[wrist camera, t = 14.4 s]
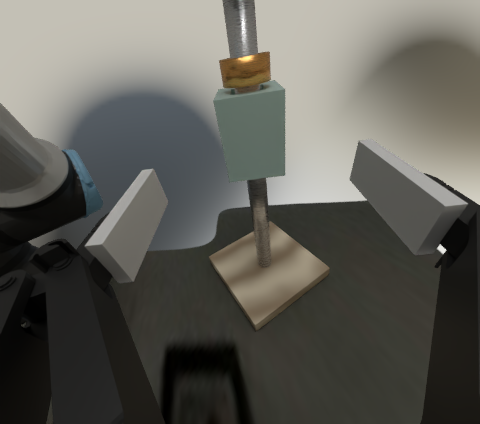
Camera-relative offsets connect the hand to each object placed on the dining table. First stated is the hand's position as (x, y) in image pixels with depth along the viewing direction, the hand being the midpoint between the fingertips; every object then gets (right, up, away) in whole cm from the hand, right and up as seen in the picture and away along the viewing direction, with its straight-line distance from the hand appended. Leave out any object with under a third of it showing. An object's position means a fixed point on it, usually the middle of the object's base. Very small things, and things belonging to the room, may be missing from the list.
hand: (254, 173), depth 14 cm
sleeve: (+1, +3, +11) cm, 11 cm away
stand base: (+4, -13, +23) cm, 27 cm away
